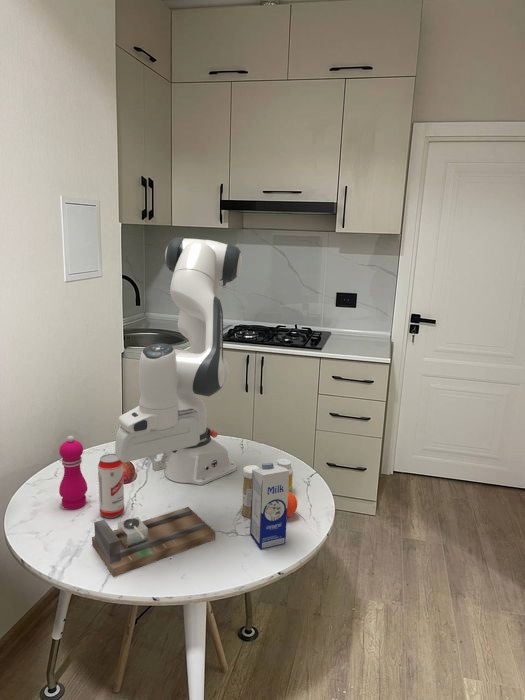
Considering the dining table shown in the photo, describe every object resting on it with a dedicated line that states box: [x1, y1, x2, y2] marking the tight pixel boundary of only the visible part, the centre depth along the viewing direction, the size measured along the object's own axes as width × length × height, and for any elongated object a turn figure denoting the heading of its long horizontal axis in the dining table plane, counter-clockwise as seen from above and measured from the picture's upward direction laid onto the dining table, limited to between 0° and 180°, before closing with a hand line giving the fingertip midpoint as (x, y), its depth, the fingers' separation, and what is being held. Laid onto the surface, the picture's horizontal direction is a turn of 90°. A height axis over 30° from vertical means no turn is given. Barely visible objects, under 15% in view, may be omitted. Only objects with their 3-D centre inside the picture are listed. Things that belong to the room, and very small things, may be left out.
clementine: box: [287, 491, 298, 518], centre depth 141 cm, size 8×7×7 cm
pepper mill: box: [58, 435, 88, 510], centre depth 142 cm, size 7×7×20 cm
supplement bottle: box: [276, 458, 294, 493], centre depth 154 cm, size 5×5×10 cm
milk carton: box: [249, 462, 290, 550], centre depth 129 cm, size 7×7×20 cm
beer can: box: [97, 453, 125, 519], centre depth 139 cm, size 6×6×16 cm
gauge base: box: [91, 506, 216, 578], centre depth 128 cm, size 26×14×7 cm, turn 126°
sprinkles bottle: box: [241, 464, 260, 518], centre depth 141 cm, size 5×5×13 cm
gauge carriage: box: [117, 516, 148, 548], centre depth 123 cm, size 5×9×4 cm, turn 36°
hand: (159, 469), depth 125 cm, fingers closed
